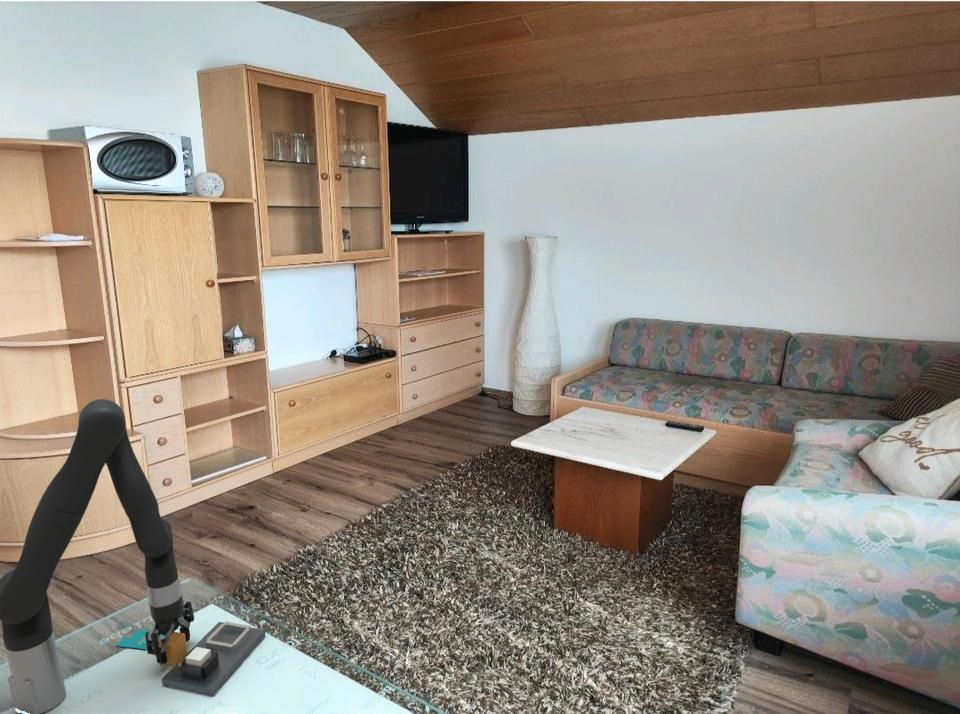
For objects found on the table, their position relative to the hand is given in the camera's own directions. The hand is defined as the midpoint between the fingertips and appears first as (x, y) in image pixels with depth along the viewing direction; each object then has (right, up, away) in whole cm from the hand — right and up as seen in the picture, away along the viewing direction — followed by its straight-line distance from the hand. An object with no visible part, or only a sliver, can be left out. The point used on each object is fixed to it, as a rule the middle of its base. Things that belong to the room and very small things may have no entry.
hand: (174, 651), depth 169 cm
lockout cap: (0, -2, 0) cm, 2 cm away
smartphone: (-10, -1, +7) cm, 12 cm away
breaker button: (+9, -1, -7) cm, 12 cm away
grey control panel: (+11, -2, -1) cm, 11 cm away
